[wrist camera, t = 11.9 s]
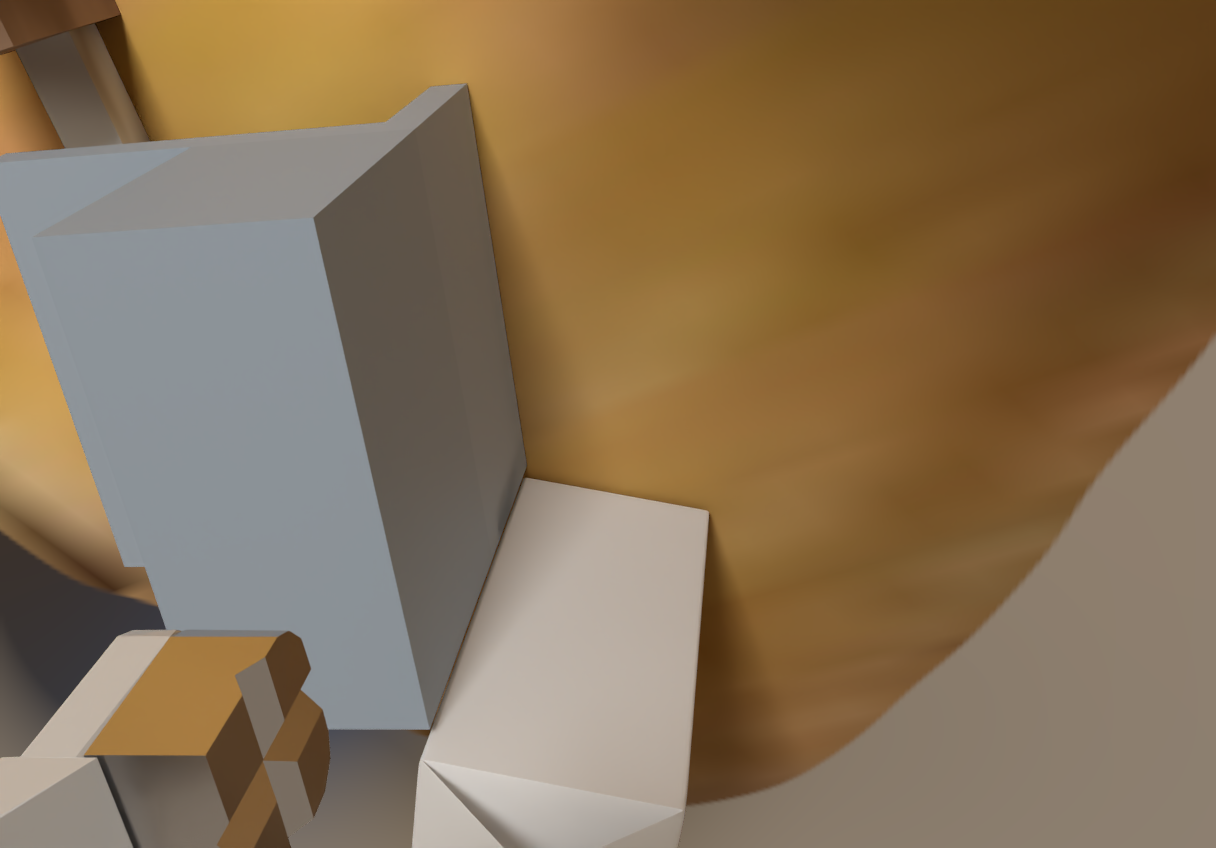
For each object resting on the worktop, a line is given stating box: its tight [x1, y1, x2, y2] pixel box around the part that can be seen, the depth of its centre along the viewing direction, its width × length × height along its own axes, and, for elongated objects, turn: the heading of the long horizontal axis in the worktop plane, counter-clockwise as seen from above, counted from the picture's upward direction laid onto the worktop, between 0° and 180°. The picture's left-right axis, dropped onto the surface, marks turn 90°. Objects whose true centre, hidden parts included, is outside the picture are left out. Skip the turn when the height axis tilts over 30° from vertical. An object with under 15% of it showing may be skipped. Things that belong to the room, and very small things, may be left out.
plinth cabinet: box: [0, 84, 527, 729], centre depth 34 cm, size 14×13×14 cm
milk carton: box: [412, 478, 709, 848], centre depth 36 cm, size 7×7×19 cm
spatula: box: [0, 0, 150, 149], centre depth 37 cm, size 17×4×6 cm, turn 17°
